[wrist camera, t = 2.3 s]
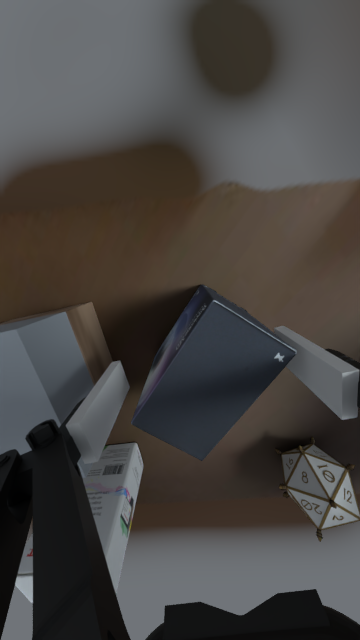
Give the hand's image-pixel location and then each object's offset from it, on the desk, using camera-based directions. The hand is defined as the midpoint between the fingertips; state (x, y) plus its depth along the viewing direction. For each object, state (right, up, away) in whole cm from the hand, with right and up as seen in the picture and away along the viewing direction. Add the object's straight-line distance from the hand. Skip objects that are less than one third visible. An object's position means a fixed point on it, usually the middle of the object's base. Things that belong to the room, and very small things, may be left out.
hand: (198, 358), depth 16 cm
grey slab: (-15, -3, +3) cm, 16 cm away
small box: (+1, +2, +6) cm, 7 cm away
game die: (+15, -15, +11) cm, 24 cm away
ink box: (-11, -17, +12) cm, 24 cm away
